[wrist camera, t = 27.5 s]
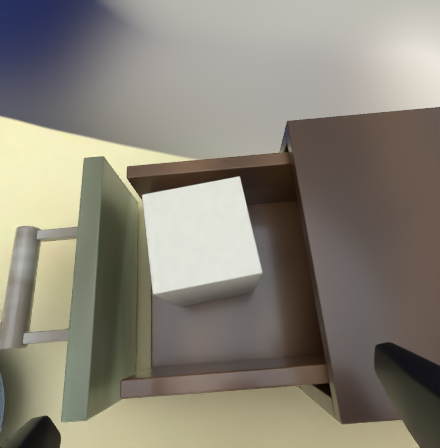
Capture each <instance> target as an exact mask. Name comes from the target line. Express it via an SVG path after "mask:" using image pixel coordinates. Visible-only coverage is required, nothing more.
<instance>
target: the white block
mask: <svg viewBox="0 0 440 448" xmlns="http://www.w3.org/2000/svg"><path fill="white" fill-rule="evenodd" d="M142 201H143V210H144V219H145V228H146V237H147V246H148V255H149V264H150V273H151V282H152V291H153V295H156V296H158V297H160V298H162V299H164V300H166V301H169V302H171V303H173V304H175V305H177V306H179V307H183V306H188V305H194V304H199V303H204V302H209V301H214V300H219V299H224V298H229V297H234V296H239V295H244V294H249V293H253V292H254V290H255V287H256V285H257V283H258V281H259V279H260V277H261V275H262V268H261V264H260V259H259V255H258V251H257V247H256V243H255V238H254V234H253V230H252V226H251V221H250V217H249V213H248V209H247V205H246V200H245V196H244V192H243V188H242V183H241V179H240V177H234V178H228V179H223V180H218V181H212V182H207V183H202V184H197V185H191V186H186V187H181V188H175V189H170V190H165V191H160V192H154V193H149V194H144V195H142Z"/></svg>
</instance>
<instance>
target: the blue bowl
mask: <svg viewBox="0 0 440 448" xmlns="http://www.w3.org/2000/svg"><path fill="white" fill-rule="evenodd" d="M4 405H5V402H4V387H3V380H2V376H1V373H0V432H1V427H2V422H3V416H4Z"/></svg>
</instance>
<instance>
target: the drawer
mask: <svg viewBox="0 0 440 448" xmlns="http://www.w3.org/2000/svg"><path fill="white" fill-rule="evenodd" d="M234 177H240V179H241V183H242V188H243V192H244V196H245V200H246V205H247V209H248V213H249V217H250V221H251V226H252V230H253V234H254V238H255V243H256V247H257V251H258V255H259V259H260V264H261V268H262V275H261V277H260V279H259V281H258V283H257V285H256V287H255V290H254V292H253V293H249V294H244V295H239V296H234V297H229V298H224V299H219V300H214V301H209V302H204V303H199V304H194V305H188V306H183V307H179V306H177V305H175V304H173V303H171V302H169V301H166V300H164V299H162V298H160V297H158V296H156V295H153V291H152V282H151V367H150V368H148V369H146V370H143V371H141V372H139V373H136V374H135V356H136V299H137V241H138V202H137V200H136V199H135V198H134V196H133V195H132V194H131V192H130V191H129V190H128V188H127V187H126V186H125V184H124V183H123V182H122V180H121V179H120V178H119V176H118V175H117V174H116V172H115V171H114V170H113V168H112V167H111V166H110V164H109V163H108V162H107V160H106V159H105V157H103V156H101V157H90V158H84V164H83V176H82V187H81V198H80V210H79V221H78V227H71V228H59V229H48V230H41V229H39V228H36V227H31V226H22V227H18V228H17V229H16V233H15V239H14V246H13V252H12V258H11V264H10V271H9V277H8V283H7V289H6V296H5V302H4V308H3V315H2V321H1V327H0V350H6V349H19V348H26V347H27V345H28V344H34V343H46V342H59V341H68V347H67V359H66V370H65V382H64V393H63V405H62V416H61V422H75V421H87V420H88V419H90V418H92V417H93V416H95V415H97V414H98V413H100V412H102V411H103V410H105V409H107V408H109V407H110V406H112V405H114V404H115V403H117V402H119V401H120V400H122V399H128V398H142V397H155V396H168V395H181V394H194V393H207V392H220V391H233V390H247V389H260V388H273V387H286V386H299V385H312V384H325V383H329V378H328V372H327V367H326V361H325V355H324V350H323V344H322V338H321V333H320V327H319V321H318V315H317V310H316V304H315V298H314V293H313V287H312V281H311V276H310V270H309V264H308V258H307V253H306V247H305V241H304V236H303V230H302V224H301V219H300V213H299V207H298V201H297V196H296V190H295V184H294V179H293V173H292V167H291V162H290V156H289V152H283V153H272V154H261V155H250V156H239V157H228V158H217V159H205V160H194V161H183V162H172V163H161V164H149V165H138V166H128V167H127V179H128V180H129V182H130V183H131V185H132V186H133V188H134V189H135V190H136V192H137V193H138V195H139V196H140V198H141V199H142V195H144V194H149V193H154V192H160V191H165V190H170V189H175V188H181V187H186V186H191V185H197V184H202V183H207V182H212V181H218V180H223V179H228V178H234ZM67 239H77V244H76V256H75V267H74V279H73V290H72V302H71V313H70V324H69V329H64V330H51V331H39V332H29V330H30V322H31V314H32V307H33V299H34V291H35V283H36V275H37V268H38V260H39V252H40V244H41V241H42V242H44V241H55V240H67Z"/></svg>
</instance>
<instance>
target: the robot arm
mask: <svg viewBox="0 0 440 448" xmlns="http://www.w3.org/2000/svg"><path fill="white" fill-rule="evenodd" d="M374 368H375V372H376V374H377V376H378V378H379V380H380V382H381V383H382V385H383V387H384V389H385V390H386V392H387V394H388V396H389V398H390V399H391V401H392V403H393V405H394V406H395V408H396V410H397V412H398V413H399V415H400V417H401V419H402V421H403V422H404V424H405V426H406V427H407V429H408V430H409V432H410V433H411V435H412V436H413V438H414V439H415V441H416V442H417V444H418V445H419V447H420V448H440V365H438V364H436V363H434V362H432V361H430V360H428V359H425V358H423V357H421V356H419V355H417V354H415V353H413V352H411V351H409V350H407V349H405V348H403V347H400V346H398V345H396V344H394V343H392V342H385V343H381V344H377V345H376V346H375V354H374ZM60 444H61V436H60V432H59V431H58V429H57V428H56V426H55V425H54V423H53V422H52V420H51V419H50V418H49V417H48V416H41V417H36V418H33V419H31V420H30V421H28V422H27V423H26V424H25V425H24V426H23V427H22V428H20V429H19V430H18V431H17V432H16V433H15V434H14V435H13V436H12V437H10V438H9V439H8V440H7V441H6V442H5V443H4V444H3V445H2V446H0V448H60Z"/></svg>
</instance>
